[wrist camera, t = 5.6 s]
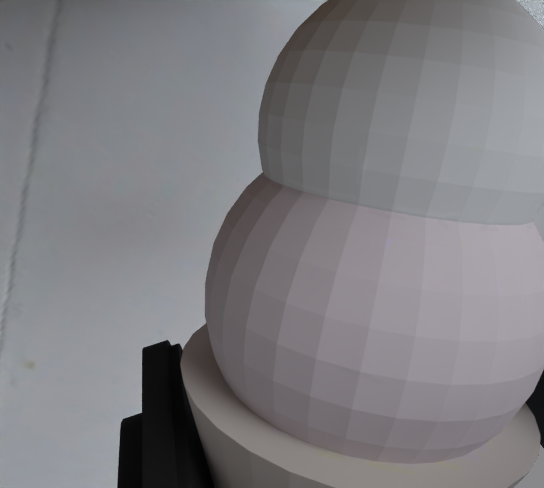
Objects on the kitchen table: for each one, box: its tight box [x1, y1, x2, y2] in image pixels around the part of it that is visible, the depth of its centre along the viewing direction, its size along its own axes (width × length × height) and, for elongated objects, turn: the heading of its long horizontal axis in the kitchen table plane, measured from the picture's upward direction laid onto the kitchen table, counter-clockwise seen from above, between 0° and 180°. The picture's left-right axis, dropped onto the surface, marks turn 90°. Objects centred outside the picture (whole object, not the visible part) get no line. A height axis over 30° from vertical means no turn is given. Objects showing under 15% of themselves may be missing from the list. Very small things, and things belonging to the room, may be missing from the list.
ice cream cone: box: [180, 0, 544, 488], centre depth 9 cm, size 6×6×15 cm
